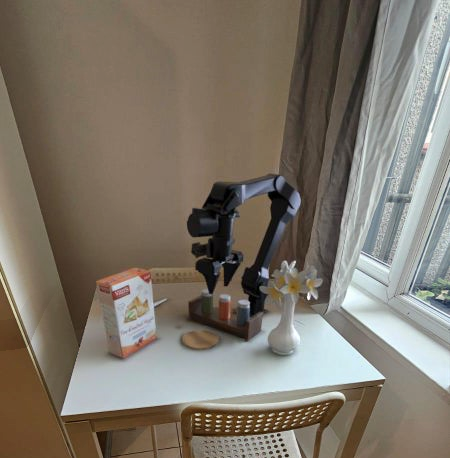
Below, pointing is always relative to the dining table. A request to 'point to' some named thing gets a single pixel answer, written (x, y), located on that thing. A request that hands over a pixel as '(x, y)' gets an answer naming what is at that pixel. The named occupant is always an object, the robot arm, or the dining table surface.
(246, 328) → the spice shelf
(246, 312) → the cylinder
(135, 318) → the cracker box
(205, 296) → the cylinder
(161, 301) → the butter knife
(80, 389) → the dining table surface
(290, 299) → the flower vase
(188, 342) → the cork trivet
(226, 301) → the terracotta shaker
